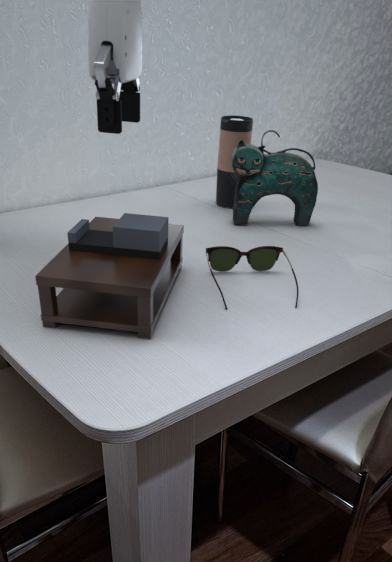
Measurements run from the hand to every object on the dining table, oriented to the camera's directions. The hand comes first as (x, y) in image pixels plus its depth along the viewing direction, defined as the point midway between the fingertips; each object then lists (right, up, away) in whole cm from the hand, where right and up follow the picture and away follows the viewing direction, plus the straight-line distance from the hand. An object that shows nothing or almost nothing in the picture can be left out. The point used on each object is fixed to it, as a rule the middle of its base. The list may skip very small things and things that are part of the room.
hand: (120, 126), depth 72 cm
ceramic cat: (+27, -3, +44) cm, 52 cm away
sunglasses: (+20, -22, +15) cm, 33 cm away
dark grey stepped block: (-1, -16, +6) cm, 17 cm away
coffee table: (-2, -23, +11) cm, 25 cm away
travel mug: (+19, +5, +55) cm, 59 cm away
